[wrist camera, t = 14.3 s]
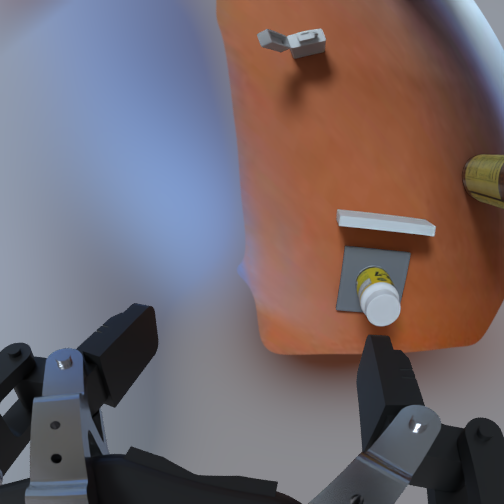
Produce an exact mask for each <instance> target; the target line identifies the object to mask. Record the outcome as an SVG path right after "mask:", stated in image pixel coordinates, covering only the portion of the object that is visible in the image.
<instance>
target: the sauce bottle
mask: <svg viewBox="0 0 504 504" xmlns="http://www.w3.org/2000/svg"><path fill="white" fill-rule="evenodd" d="M462 177H463V183H464V186H465V189H466V191H467V193H468V194H469V195H470V196H471V197H473V198H475V199H476V200H478V201H480V202H484V203H487V204H490V205H493V206H496V207H499V208H502V209H504V155H484V154H482V155H477V156H475V157H472V158H470V159H469V160H468V162H467V163H466V165H465V167H464V170H463V172H462Z"/></svg>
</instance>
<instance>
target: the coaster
mask: <svg viewBox="0 0 504 504" xmlns="http://www.w3.org/2000/svg"><path fill="white" fill-rule="evenodd" d="M410 255H411V253H410V252H403V251H393V250H383V249H373V248H363V247H353V246H345V250H344V257H343V265H342V272H341V279H340V285H339V292H338V298H337V304H336V310H342V311H354V312H363V311H362V309H361V306H360V302H359V298H358V294H357V290H356V285H355V282H356V278H357V275H358V274H359V272H360V271H361V270H362V269H364V268H366V267H368V266H379V267H381V268H383V269H384V270H386V272H387V273H388V275H389V276H390V278H391V280H392V282H393V284H394V286H395V287H396V289H397V291H398V294H399V303H400V302H401V297H402V293H403V289H404V284H405V280H406V275H407V270H408V265H409V260H410Z"/></svg>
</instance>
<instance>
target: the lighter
mask: <svg viewBox="0 0 504 504" xmlns="http://www.w3.org/2000/svg"><path fill="white" fill-rule="evenodd" d="M257 36H258V39H259V42H260V44H261V46H262V47H264V48H268V49H271V50H275V51H278V52H283V51H285V50H288V49H290V51H291V53H292V56H293V58H294V59H296V58H300V57H304V56H309V55H313V54H317V53H322V52H324V51H325V43H326V38H325V36H324V33H323V31H322V29H315V30H308V31H304V32H299V33H297V34H293V35H289V36H288V37H286V36H285V35H283V34H280V33H277V32H275V31H272V30H269V29H266V30H264V31H262V32H260V33H258V34H257Z"/></svg>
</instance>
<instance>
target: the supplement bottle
mask: <svg viewBox="0 0 504 504" xmlns="http://www.w3.org/2000/svg"><path fill="white" fill-rule="evenodd" d="M355 285H356V290H357V294H358V298H359V302H360V306H361V309H362V311H363V312H364V314H365V315H366V316H367V318H368V320H369V321H370V322H371V323H372V324H374V325H376V326H386V325H389V324H391V323H393V322H394V321H395V320H396V319H397V318H398V316H399V314H400V309H401V307H400V303H399V294H398V291H397V289H396V287H395V286H394V284H393V282H392V280H391V278H390V276H389V275H388V273H387V272H386V270H384V269H383V268H381V267H379V266H368V267H366V268H364V269H362V270H361V271H360V272H359V274H358V275H357V278H356V282H355Z"/></svg>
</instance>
